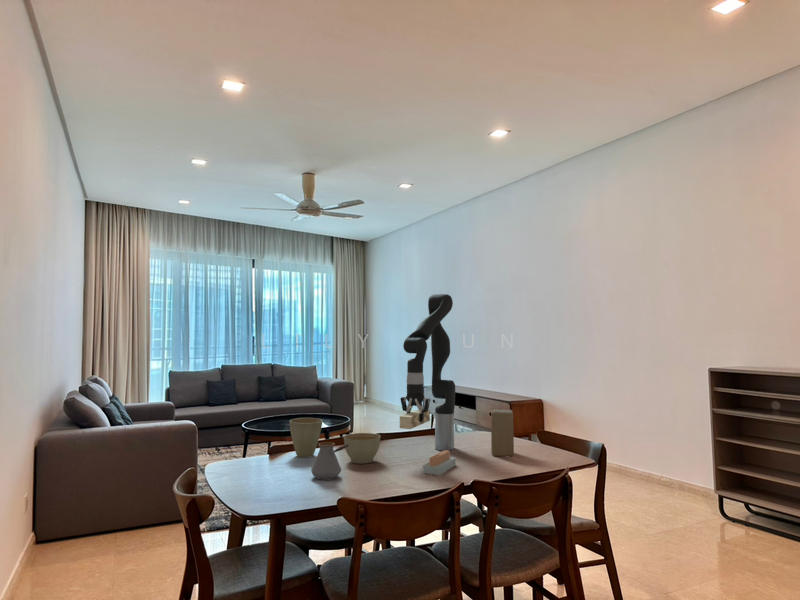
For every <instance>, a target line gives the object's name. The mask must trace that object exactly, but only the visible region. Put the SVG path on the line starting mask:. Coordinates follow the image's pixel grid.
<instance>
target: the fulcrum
mask: <svg viewBox="0 0 800 600" xmlns="http://www.w3.org/2000/svg"><path fill="white" fill-rule="evenodd" d="M450 451H451V450H441V451H440V452H438V453H436V454H435V455H432V456H431V457H429V462H427V463H425V464H423V466H422V467H423V468H422V470H423V473H422V474H425V473H427V475H432V474H434V475H433V476H441V475H443V474H444V473H446V472H447V471H449V470H451V469H452V468H454V467H455V466H456V457H451V456H450V454H451V452H450ZM442 473H443V474H442Z"/></svg>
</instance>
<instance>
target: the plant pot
mask: <svg viewBox="0 0 800 600" xmlns="http://www.w3.org/2000/svg"><path fill="white" fill-rule="evenodd" d="M323 421H324V420H323V419H321V418H315V417H298V418H297V417H296V418H293V419H290V420H289V428H290V436H291V440H292V445H293V448H294V451H295V455H296V457H298V458H303V457H306V458H311V457H312V458H313V456H314V455H315V453H316V449H317V447H318V444H319V440H320V436H321V432H322V427H323Z"/></svg>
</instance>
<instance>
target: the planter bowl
mask: <svg viewBox="0 0 800 600" xmlns="http://www.w3.org/2000/svg"><path fill="white" fill-rule="evenodd" d="M343 443H344V445H349V446H348V447H346V449H345V451H346V454H347V455H348V457H349V458H350V462H351V463H353V464H360V465H361V464H369V463H373V462H374V458H375V457H376V455H377V453H378V451H379V448H380V444H381V435H380V434H378V433H371V432H357V433H356V432H355V433H350V434H346V435H344V436H343ZM344 445H343V446H344ZM350 447H351V448H350ZM349 449H350V450H349Z"/></svg>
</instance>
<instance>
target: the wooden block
mask: <svg viewBox="0 0 800 600" xmlns="http://www.w3.org/2000/svg"><path fill="white" fill-rule="evenodd" d="M490 417H491V418H490V419H491V420H490V422H491V423H490V424H491V425H490V427H491V428H490V429H491V430H490V432H491V434H490V435H491V436H490V438H491V440H490V441H491V445H490V446H491V449H490V450H491V455H492V456H493V457H506V456H511V457H510V458H512V457H514V455H515V453H514V451H515V449H514V448H515V447H514V446H515V444H514V439H515V438H514V437H515V435H514V434H515V433H514V430H515V429H514V412H513V410H512V409H495V408H494V409H492V410H491V411H490Z"/></svg>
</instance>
